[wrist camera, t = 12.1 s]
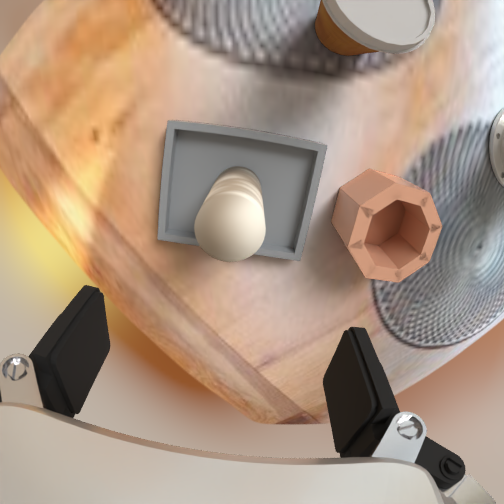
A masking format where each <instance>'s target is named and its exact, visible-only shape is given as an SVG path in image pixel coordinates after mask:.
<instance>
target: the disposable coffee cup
mask: <svg viewBox="0 0 504 504" xmlns="http://www.w3.org/2000/svg"><path fill="white" fill-rule="evenodd" d="M434 20H435V9H434V4H433V0H321V2H320V6H319V10H318V14H317V18H316V21H315V30H316V34H317V36H318V38H319V40H320V41H321V43H322V44H323V45H324V46H325V47H326V48H328V49H329V50H331V51H332V52H334V53H337V54H340V55H346V56H351V55H357V54H364V53H372V52H379V51H380V52H383V53H391V54H399V53H407V52H410V51H412V50H415V49H417V48H418V47H420V46H421V45H422V44H424V42H425V41H426V39H427V38H428V37H429V34H430V32H431V30H432V28H433V25H434Z"/></svg>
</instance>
